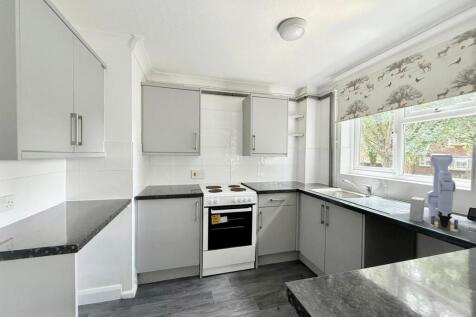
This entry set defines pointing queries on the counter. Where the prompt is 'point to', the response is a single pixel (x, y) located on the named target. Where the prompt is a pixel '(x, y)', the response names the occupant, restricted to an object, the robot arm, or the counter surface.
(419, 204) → the skincare box
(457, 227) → the wire gate
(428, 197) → the robot arm
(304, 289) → the counter surface
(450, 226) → the brown small block
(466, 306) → the counter surface
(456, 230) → the board
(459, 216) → the counter surface
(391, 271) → the counter surface
